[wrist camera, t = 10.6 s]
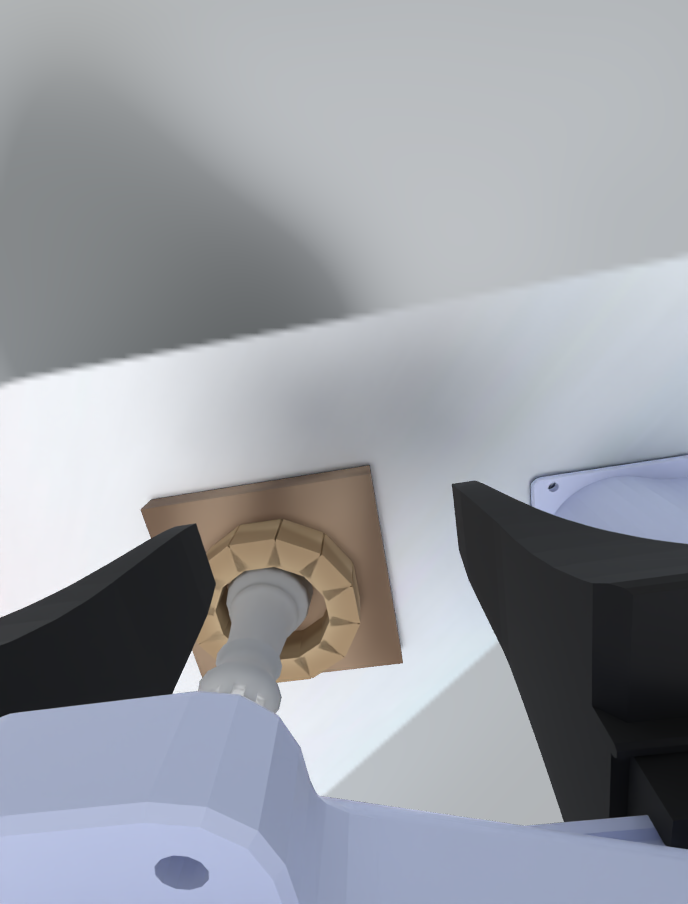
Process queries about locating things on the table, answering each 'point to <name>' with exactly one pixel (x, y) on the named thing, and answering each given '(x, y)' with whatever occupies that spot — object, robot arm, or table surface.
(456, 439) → the table surface
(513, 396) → the table surface
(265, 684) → the rook chess piece
